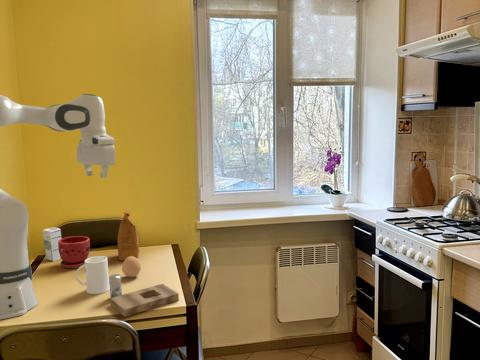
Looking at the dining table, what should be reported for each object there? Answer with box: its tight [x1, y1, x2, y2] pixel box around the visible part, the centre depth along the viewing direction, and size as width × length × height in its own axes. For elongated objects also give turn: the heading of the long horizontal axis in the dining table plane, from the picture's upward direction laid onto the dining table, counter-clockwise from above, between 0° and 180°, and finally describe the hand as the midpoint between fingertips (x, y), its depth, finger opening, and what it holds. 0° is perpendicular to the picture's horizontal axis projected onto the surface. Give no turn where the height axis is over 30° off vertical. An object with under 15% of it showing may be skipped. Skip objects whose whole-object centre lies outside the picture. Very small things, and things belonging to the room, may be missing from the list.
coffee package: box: [117, 208, 140, 261], centre depth 202 cm, size 10×12×22 cm
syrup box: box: [42, 226, 62, 262], centre depth 202 cm, size 6×6×14 cm
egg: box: [121, 256, 142, 278], centre depth 176 cm, size 7×7×8 cm
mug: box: [75, 255, 110, 295], centre depth 162 cm, size 12×8×12 cm
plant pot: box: [58, 235, 91, 269], centre depth 192 cm, size 13×13×12 cm
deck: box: [109, 283, 180, 318], centre depth 151 cm, size 20×12×2 cm, turn 127°
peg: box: [109, 273, 123, 298], centre depth 156 cm, size 4×4×8 cm
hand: (96, 176), depth 161 cm, fingers open, 8 cm apart
